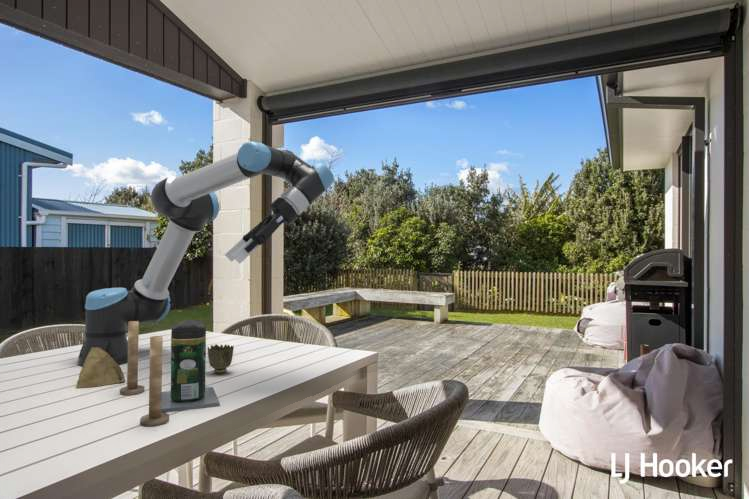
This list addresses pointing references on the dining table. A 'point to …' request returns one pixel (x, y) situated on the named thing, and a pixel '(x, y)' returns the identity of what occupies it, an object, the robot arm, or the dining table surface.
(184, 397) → the coffee jar
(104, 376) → the rock
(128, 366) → the dowel
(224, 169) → the robot arm
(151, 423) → the dowel
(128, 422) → the dining table surface
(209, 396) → the slate pad
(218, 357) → the cup
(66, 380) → the dining table surface
